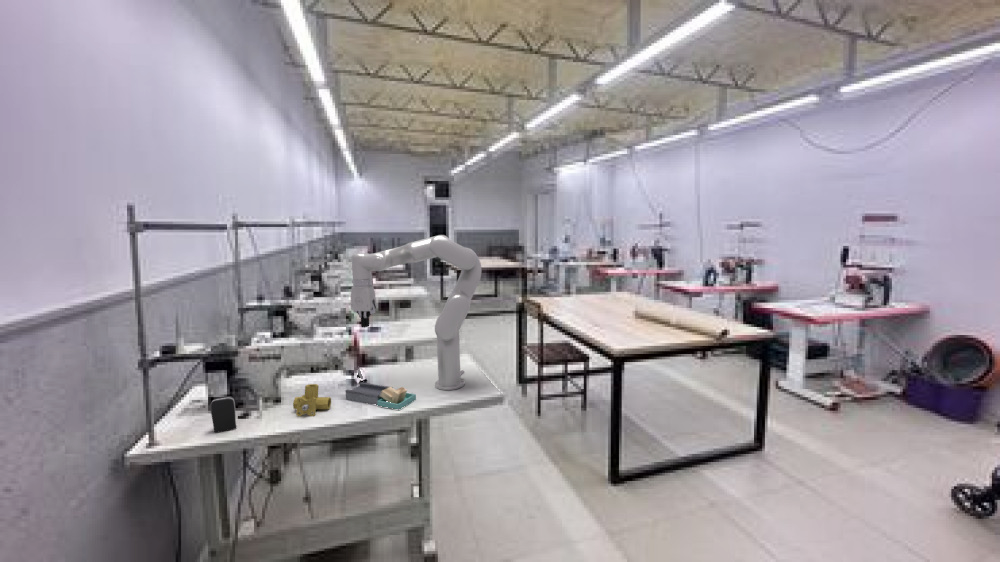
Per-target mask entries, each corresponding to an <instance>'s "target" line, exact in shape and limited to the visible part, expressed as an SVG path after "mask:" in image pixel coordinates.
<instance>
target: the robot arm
mask: <svg viewBox="0 0 1000 562" xmlns="http://www.w3.org/2000/svg"><path fill="white" fill-rule="evenodd" d="M435 258H439V259H441V260H442V261H444V262H445V263H448V264H449V265H452V266H454V267H456V268H458V269H460V270H461V271H460V274H459V277H458V279H457V281H456V282H455V283H456V284H455V285H454V287H453V289H452V291H451V293H450V295H449V296H448V297H447V300H446V303H445V305H444V307H443V309H442V311H441V313H440V314H439V315H438V317H437V318H436V321H435V325H434V333H435V335H436V350H437V351H436V353H437V357H436V358H437V374H438V375H437V377H438V378H437V380H436V381H435V383H434V386H435V388H436V389H439V390H441V391H454V390H458V389H460V388H463V386H465V380H464V379H463V378H462V376H463V375H465V371H464V370H461V353H460V352H461V351H460V350H461V349H460V345H461V344H460V329H461V327H462V325H463V323H464V321H465V320H466V317H467V315H468V313H469V311H470V308H471V302H472V298H473V296H474V294H475V292H476V290H477V288H478V286H479V283H480V280H481V278H482V264H481V260H480V259H479V256H478V255H477V254H476V252H475V250H473V249H471V248H470V247H465V246H463V245H461V244H459V243H456V241H453V240H451V239H450V238H449V237H448V236H446V235H445V234H438V235H435V236H431V237H427V238H423V239H419V240H416V241H411V242H408V243H405V244H404V245H401V246H398V247H394V248H390V249H387V250H382V251H378V252H375V253H368V252H358V253H352V255H351V273H352V274H351V275H352V280H351V283H352V286H351V289H350V309H351V310H352V311H353V313H355V314H357V315H358V316H359V319H360V325H361V326H360V327H361V328H367V327H370V317H371V315H374V314H376V309H377V297H376V292H375V287H374V285H373V276H372V271H373V272H374V271H375V272H381V271H384V270H386V269H388V268H389V269H390V268H394V267H397V266H400V265H405V264H416V263H419V262H422V261H428V260H430V259H435Z"/></svg>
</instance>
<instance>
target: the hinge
mask: <svg viewBox="0 0 1000 562" xmlns="http://www.w3.org/2000/svg"><path fill="white" fill-rule="evenodd" d="M359 368H360V369H361V370H363V368H361V367H359ZM360 369H358V376H357V377H359V378H361V379H363V376H362V374H361V371H360Z"/></svg>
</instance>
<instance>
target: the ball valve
mask: <svg viewBox="0 0 1000 562" xmlns="http://www.w3.org/2000/svg"><path fill="white" fill-rule="evenodd" d="M319 385H320V384H316V383H310V384H306V385H305V386H304V394H303V395H301V396H296V397H294V399H293V403H292V408H293V409H295V410H296V412H295V413H296V416H297V417H301V416H303V415H308V416H309V417H315V416H316V414H317V413H316V412H317V411H316V410H322V411H324V410H325V411H326V410H327V411H328V410H330V409H331V407H332V406H331V405H332V397H330V396H328V397H327V396H325V397H323V396H319Z"/></svg>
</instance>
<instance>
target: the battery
mask: <svg viewBox="0 0 1000 562" xmlns="http://www.w3.org/2000/svg"><path fill="white" fill-rule="evenodd" d="M236 414H237V413H236V402H235V398H234V397H233V396H231V395H229V396H221V397H216V398H214V399H213V400H212V401H211V403H210V415H211V418H212V426H213V433H221V431H222V432H226V430H227V431H230V430H231V429H232V430H235V428H236V429H237V419H236ZM232 430H231V431H232Z"/></svg>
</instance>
